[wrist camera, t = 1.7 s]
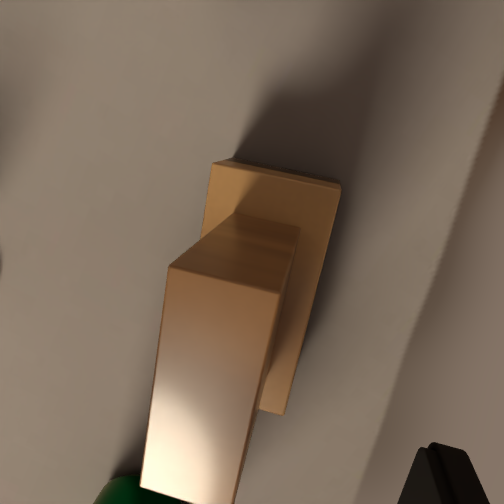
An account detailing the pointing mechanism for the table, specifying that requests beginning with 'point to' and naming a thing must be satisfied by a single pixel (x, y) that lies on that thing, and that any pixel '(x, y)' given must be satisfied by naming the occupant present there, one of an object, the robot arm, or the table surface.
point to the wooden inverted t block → (234, 325)
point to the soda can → (131, 493)
